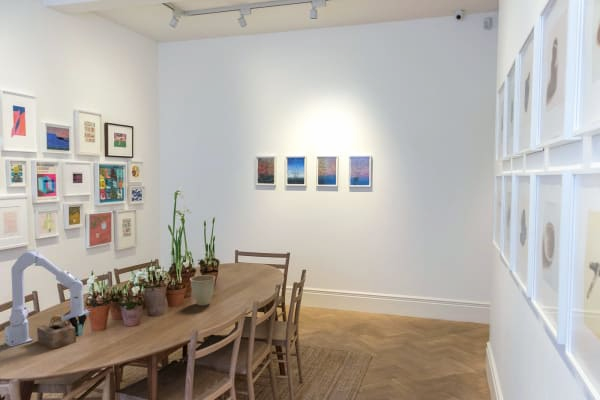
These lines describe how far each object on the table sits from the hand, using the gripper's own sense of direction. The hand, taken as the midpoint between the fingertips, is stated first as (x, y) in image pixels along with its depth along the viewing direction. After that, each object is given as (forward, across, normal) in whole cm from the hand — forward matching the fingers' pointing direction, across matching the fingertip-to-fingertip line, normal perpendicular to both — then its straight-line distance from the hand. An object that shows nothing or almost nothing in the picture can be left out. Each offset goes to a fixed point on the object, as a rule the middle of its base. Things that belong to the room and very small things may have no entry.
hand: (78, 331), depth 221 cm
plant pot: (+2, +70, -10) cm, 71 cm away
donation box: (+1, -11, -2) cm, 11 cm away
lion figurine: (+2, 0, +17) cm, 17 cm away
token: (+1, 0, 0) cm, 1 cm away
